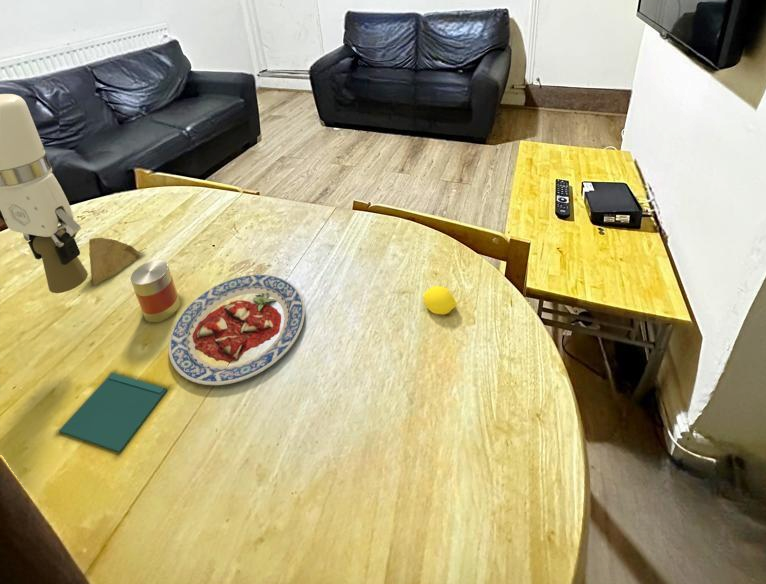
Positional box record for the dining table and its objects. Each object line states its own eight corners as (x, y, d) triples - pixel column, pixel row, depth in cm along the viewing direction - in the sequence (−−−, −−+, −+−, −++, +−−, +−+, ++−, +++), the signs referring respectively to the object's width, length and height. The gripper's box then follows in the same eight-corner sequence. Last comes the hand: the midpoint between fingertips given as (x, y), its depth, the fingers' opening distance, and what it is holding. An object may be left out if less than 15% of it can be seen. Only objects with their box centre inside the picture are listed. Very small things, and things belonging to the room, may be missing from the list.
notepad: (61, 435, 66) (58, 429, 65) (113, 377, 75) (111, 371, 74) (121, 456, 63) (118, 450, 62) (168, 392, 72) (166, 387, 71)
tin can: (137, 321, 86) (121, 281, 81) (161, 296, 92) (148, 257, 87) (164, 328, 84) (150, 287, 79) (187, 302, 90) (175, 262, 86)
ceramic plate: (210, 425, 66) (206, 413, 65) (149, 334, 83) (145, 324, 81) (331, 323, 83) (330, 313, 82) (261, 265, 100) (259, 255, 98)
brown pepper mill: (40, 288, 75) (18, 240, 71) (73, 266, 81) (54, 220, 76) (63, 296, 74) (42, 247, 69) (95, 273, 79) (77, 226, 74)
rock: (143, 239, 106) (96, 247, 102) (137, 228, 100) (88, 236, 96) (143, 282, 101) (94, 291, 97) (137, 274, 95) (85, 283, 91)
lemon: (419, 315, 85) (419, 295, 82) (426, 295, 89) (427, 276, 87) (452, 325, 82) (453, 305, 80) (458, 304, 87) (459, 285, 85)
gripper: (-43, 175, 66) (1, 263, 74) (37, 187, 62) (76, 279, 69) (6, 154, 73) (43, 237, 80) (82, 164, 69) (113, 250, 76)
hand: (58, 256), depth 75 cm, fingers closed on brown pepper mill, 5 cm apart
